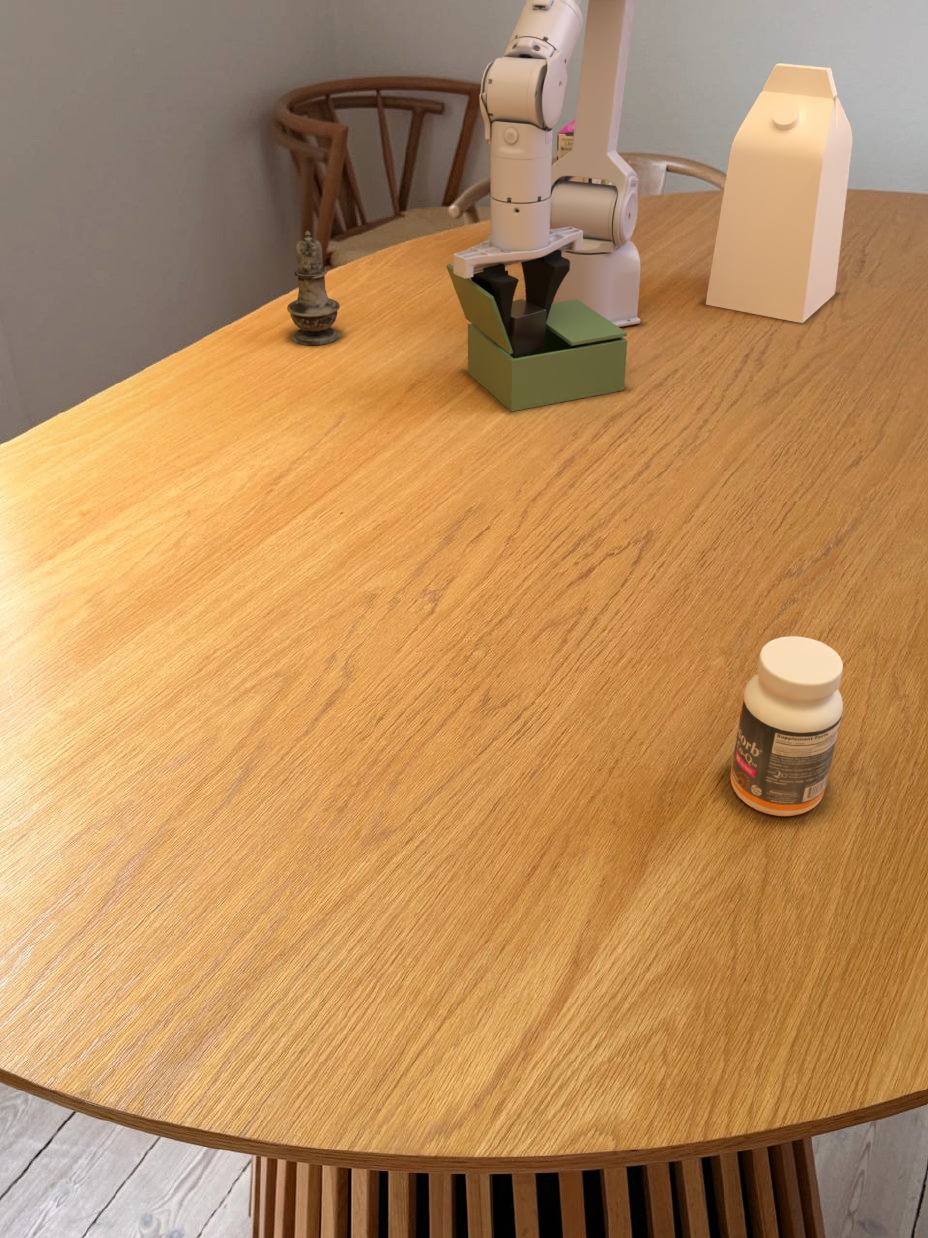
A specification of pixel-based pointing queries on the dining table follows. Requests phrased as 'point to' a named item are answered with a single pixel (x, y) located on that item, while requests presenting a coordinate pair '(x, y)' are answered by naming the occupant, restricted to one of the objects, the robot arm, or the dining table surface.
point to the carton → (553, 360)
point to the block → (526, 327)
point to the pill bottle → (788, 727)
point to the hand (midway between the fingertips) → (518, 333)
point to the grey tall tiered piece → (312, 297)
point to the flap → (480, 309)
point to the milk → (784, 199)
